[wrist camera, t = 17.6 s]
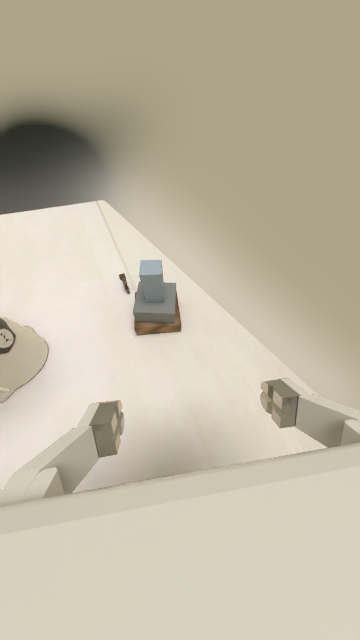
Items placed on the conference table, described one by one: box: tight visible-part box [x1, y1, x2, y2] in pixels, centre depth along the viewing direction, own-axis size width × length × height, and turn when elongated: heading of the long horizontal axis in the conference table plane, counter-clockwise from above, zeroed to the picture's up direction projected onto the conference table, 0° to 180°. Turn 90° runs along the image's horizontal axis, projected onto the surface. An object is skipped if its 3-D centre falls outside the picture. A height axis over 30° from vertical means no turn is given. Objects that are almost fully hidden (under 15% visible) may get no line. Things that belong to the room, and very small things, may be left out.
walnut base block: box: [134, 292, 181, 335], centre depth 49 cm, size 12×12×4 cm
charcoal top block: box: [133, 282, 176, 323], centre depth 45 cm, size 10×10×4 cm
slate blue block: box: [139, 260, 164, 303], centre depth 39 cm, size 4×4×9 cm
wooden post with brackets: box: [119, 273, 130, 294], centre depth 55 cm, size 2×8×4 cm, turn 25°
